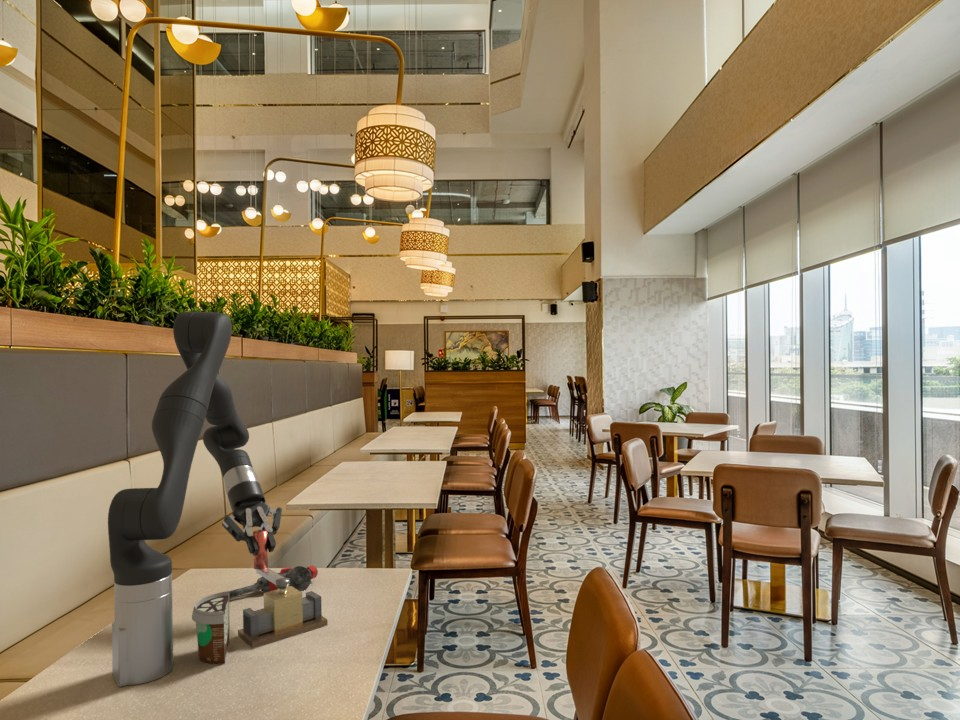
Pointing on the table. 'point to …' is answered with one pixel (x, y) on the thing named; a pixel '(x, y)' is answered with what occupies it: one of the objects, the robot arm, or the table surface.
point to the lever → (266, 561)
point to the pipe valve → (282, 617)
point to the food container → (212, 627)
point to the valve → (297, 576)
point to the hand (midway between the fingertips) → (264, 551)
